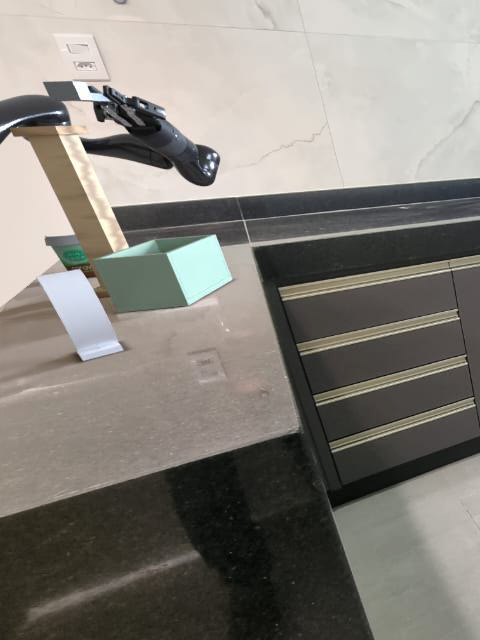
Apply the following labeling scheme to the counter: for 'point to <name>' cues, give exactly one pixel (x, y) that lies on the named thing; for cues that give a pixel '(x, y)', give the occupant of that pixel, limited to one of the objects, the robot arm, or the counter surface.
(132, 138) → the robot arm
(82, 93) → the grey and white block
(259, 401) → the counter surface
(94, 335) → the white curved stand
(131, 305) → the bin
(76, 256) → the food container
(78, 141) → the wooden stand
